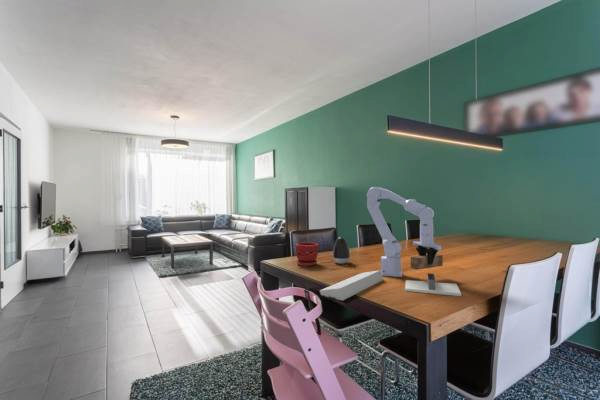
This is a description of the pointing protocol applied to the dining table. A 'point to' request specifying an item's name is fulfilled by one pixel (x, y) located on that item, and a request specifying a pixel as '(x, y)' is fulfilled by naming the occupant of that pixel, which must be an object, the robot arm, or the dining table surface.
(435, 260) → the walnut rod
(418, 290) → the grey board
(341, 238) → the dark grey rounded shape
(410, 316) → the dining table surface
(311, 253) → the plant pot
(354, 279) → the decorative molding
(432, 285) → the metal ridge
